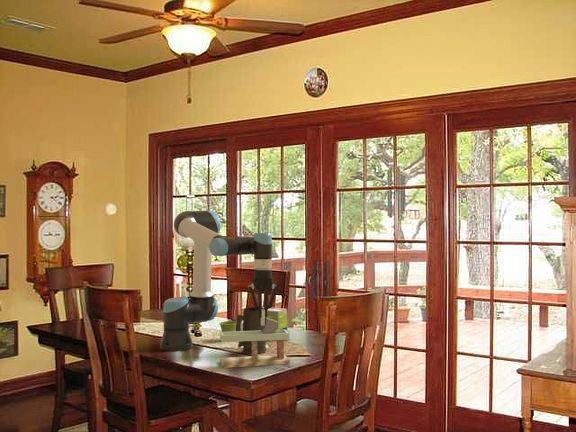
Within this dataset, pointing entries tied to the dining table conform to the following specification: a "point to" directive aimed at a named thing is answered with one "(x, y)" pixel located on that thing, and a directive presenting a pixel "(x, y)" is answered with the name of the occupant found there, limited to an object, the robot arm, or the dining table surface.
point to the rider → (270, 326)
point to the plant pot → (228, 326)
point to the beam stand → (257, 358)
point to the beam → (253, 336)
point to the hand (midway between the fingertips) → (262, 325)
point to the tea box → (278, 317)
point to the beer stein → (250, 329)
